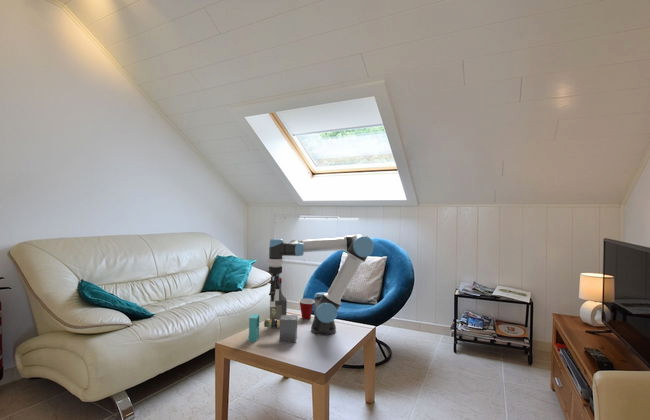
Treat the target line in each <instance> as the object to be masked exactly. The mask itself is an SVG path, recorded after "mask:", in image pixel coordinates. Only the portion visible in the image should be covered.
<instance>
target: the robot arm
mask: <svg viewBox="0 0 650 420" xmlns="http://www.w3.org/2000/svg"><path fill="white" fill-rule="evenodd" d="M374 247H375V245H374V242H373V240H372V239H371V238H370V237H369V236H368V235H365V234H362V233H355V234H351V235H344V236H343V237H333V238H331V237H330V238H316V239H315V238H314V239H302V240H298V239H297V240H296V239H292V240H290V241H289V242H284V239H283V238H271V239H269V247H268V251H269V253H268V260H267V262H268V265H269V266H268V273H269V274H272V275H271V277H270V285H269V286H270V288H269V293H268V296H270V298H269V308H270V307H275V301H279V289H280V288H281V289H282V286H281V287H280V282H279V278H280V274H282V273H283V257H284V256H285V257H286V256H287V257H289V256H290V257H301V256H302V257H303V255H304V254H305V253H317V252H319V253H320V252H334V251H344V252H346V254H347V256H346V257H345V260H344V262H343V264H342V265H341V266H340V268H339V271H338V272H337V274H336V276H335V277H334V280H332V283H331V285H330V287H329V288H328V290H327V292H324V291H323V292H316V293H315V294H314V299H313V300H314V301H315V302H314V304H313V307H314V308H313V309H314V313H313V314H314V315H313V316H314V317H313V321H312V323H311V327H310V331H311V332H312V333H313V334H314V335H320V336H321V335H322V336H328V335H332V334H335V333H336V332H337V326H336V322H335V320H336V318H337V316H338V310H339V308H340V307H341V305H342V301H341V299H342V297H343V296H344V294H345V292H346V291H347V289H348V287H349V285H350V284H351V282H352V280H353V279H354V276H355V274H356V272H357V271H358V269H359V267H360V265H361V264H363V263H365V262H366V260H367V258H368V257H369V256H370V255H371V254H372V253H373V251H374V249H375V248H374Z"/></svg>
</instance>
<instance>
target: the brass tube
mask: <svg viewBox="0 0 650 420" xmlns="http://www.w3.org/2000/svg"><path fill="white" fill-rule="evenodd" d="M263 327H264V328H271V329H272V328H273V329H278V328H277V327H280V320H278V319H272V320H270V319H264V322H263Z"/></svg>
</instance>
